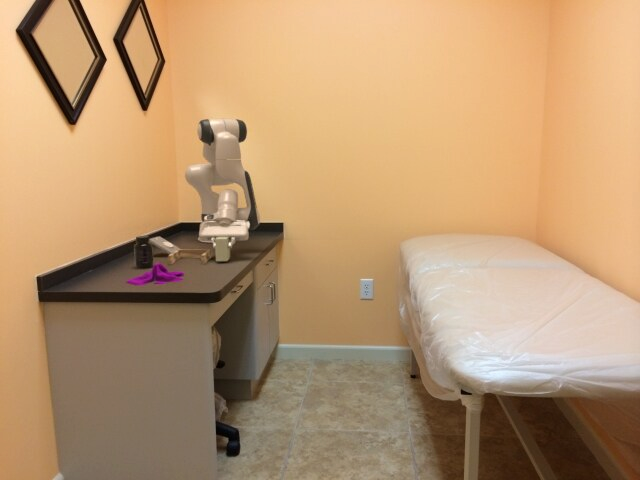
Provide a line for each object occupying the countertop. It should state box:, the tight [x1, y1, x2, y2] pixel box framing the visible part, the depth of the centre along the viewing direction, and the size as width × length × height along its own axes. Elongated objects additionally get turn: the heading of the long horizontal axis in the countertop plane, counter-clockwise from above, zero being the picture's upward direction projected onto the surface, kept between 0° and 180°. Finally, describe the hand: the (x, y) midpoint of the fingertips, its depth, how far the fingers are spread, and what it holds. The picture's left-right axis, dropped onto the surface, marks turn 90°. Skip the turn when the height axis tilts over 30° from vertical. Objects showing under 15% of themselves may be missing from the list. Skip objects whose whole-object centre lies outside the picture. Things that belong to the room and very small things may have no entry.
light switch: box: [149, 236, 183, 255], centre depth 218 cm, size 8×6×14 cm
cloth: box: [125, 262, 185, 287], centre depth 175 cm, size 22×19×6 cm
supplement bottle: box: [133, 235, 155, 269], centre depth 195 cm, size 7×7×12 cm
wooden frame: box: [167, 248, 213, 266], centre depth 206 cm, size 14×14×4 cm
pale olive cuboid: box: [214, 237, 231, 262], centre depth 203 cm, size 7×4×9 cm, turn 0°
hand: (222, 247), depth 203 cm, fingers closed on pale olive cuboid, 4 cm apart
